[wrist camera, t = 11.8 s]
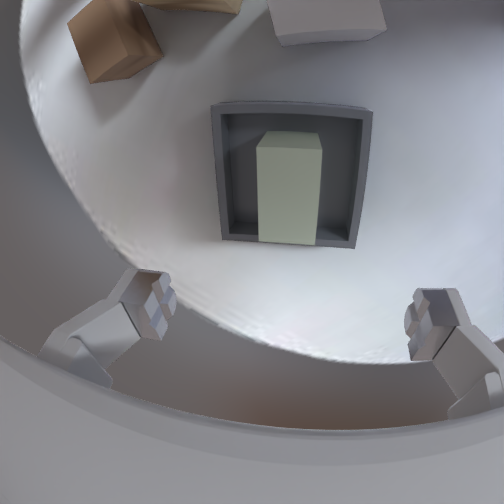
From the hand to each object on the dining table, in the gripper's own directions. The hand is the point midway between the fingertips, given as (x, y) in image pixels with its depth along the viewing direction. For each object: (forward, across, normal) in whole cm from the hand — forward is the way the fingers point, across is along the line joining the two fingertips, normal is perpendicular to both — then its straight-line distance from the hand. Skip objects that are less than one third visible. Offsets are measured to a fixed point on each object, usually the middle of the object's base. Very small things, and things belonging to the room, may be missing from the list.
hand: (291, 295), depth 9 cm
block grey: (+15, -2, -10) cm, 18 cm away
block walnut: (+14, +13, -11) cm, 22 cm away
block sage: (+13, +1, +1) cm, 13 cm away
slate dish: (+14, +1, +1) cm, 14 cm away
